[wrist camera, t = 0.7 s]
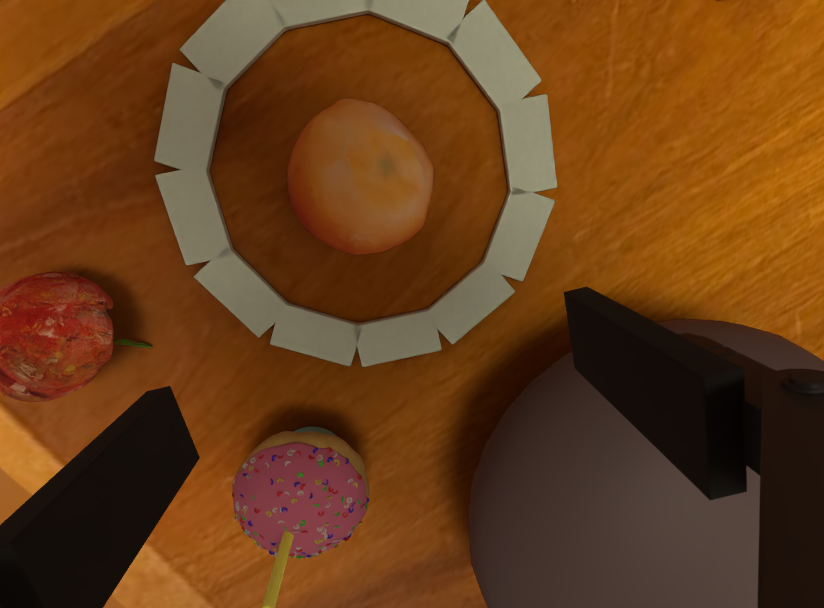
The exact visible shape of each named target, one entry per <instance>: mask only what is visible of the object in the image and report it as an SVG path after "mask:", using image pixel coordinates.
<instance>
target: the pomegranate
mask: <svg viewBox="0 0 824 608" xmlns="http://www.w3.org/2000/svg"><path fill="white" fill-rule="evenodd" d="M113 306H114V303H113V301H112V299H111V298H110V297H109V295H108V294H107V293H106V292H105V291H103V290H102V288H101V287H100V286H99V285H98V284H97V283H95V282H93V281H91V280H88V279H86V278H84V277H81V276H78V275H76V274H74V273H63V272H47V273H41V274H35V275H32V276H28V277H25V278H21V279H19V280H17V281H15V282H13V283H11V284H8V285H6V286H4V287H3V288H1V289H0V391H1V392H2V393H3V394H4V395H7V396H9V397H12V398H14V399H17V400H20V401H27V402H42V401H50V400H53V399H57V398H60V397H63V396H65V395H67V394H69V393H70V392H72V391H75V390H77V389H79V388H81V387H83V386H85V385H86V384H87V383H89V382H90V381H91V380H92V379H93V378H94V377H95V376H96V374H97V373H98V372H99V371H100V369H101V368H102V367H103V366H104V364H105V363H106V362H107V361H108V360H110V358H111V355H112V351H113V344H115V345H125V346H134V347H142V348H153V347H152V345H150V344H146V343H142V342H132V341H131V340H128V339H120V340H113V336H114V330H113V323H112V320H111V317H110V312H111V310H112V309H113Z"/></svg>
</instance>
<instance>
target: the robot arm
mask: <svg viewBox="0 0 824 608" xmlns="http://www.w3.org/2000/svg"><path fill="white" fill-rule="evenodd" d="M564 296H565V303H566V311H567V318H568V325H569V332H570V340H571V347H572V354H573V361H574V368H575V369H576V370H577V371H578V372H579V373H580V374H581V375H582V376H583V377H584V378H585V379H586V380H587V381H588V382H589V383H590V384H591V385H592V386H593V387H594V388H595V389H596V390H597V391H598V392H599V393H600V394H601V395H602V396H603V397H604V398H605V399H607V400H608V401H609V402H610V403H611V404H612V405H613V406H614V407H615V408H616V409H617V410H618V411H619V412H620V413H621V414H622V415H623V416H624V417H625V418H626V419H627V420H628V421H629V422H630V423H631V424H632V425H633V426H634V427H635V428H636V429H637V430H638V431H639V432H640V433H641V434H642V435H643V436H644V437H645V438H647V439H648V440H649V441H650V442H651V443H652V444H653V445H654V446H655V447H656V448H657V449H658V450H659V451H660V452H661V453H662V454H663V455H664V456H665V457H666V458H667V459H668V460H669V461H670V462H671V463H672V464H673V465H674V466H675V467H676V468H677V469H678V470H679V471H680V472H681V473H682V474H683V475H684V476H686V477H687V478H688V479H689V480H690V481H691V482H692V483H693V484H694V485H695V486H696V487H697V488H698V489H699V490H700V491H701V492H702V493H703V494H704V495H705V496H706V497H707V498H708V499H709V500H714V499H718V498H723V497H727V496H731V495H735V494H739V493H743V492H747V469H746V465H747V466H748V467H749V468H751V469H752V470H753V471H754V472H756V473H757V474H758V475H759V476H760V513H759V561H758V608H824V371H821V370H813V369H784V370H778V371H776V370H774V369H772V368H770V367H768V366H766V365H764V364H762V363H760V362H758V361H755V360H753V359H751V358H749V357H747V356H745V355H743V354H741V353H738V354H737V351H735V350H733V349H731V348H729V347H727V346H726V347H724V346H723V345H722V344H720V343H718V342H716V341H714V340H712V339H710V338H708V337H704V336H700V335H695V334H691V333H687V332H685V333H681V334H677V333H675V332H673V331H671V330H669V329H667V328H665V327H663V326H661V325H659V324H657V323H656V322H654V321H652V320H650V319H648V318H646V317H644V316H642V315H640V314H638V313H636V312H634V311H633V310H631V309H629V308H627V307H625V306H623V305H621V304H619V303H617V302H615V301H613V300H611V299H610V298H608V297H606V296H604V295H602V294H600V293H598V292H596V291H594V290H592V289H590V288H588V287H583V288H579V289H575V290H571V291H567V292H564ZM199 458H200V457H199V455H198V452H197V450H196V448H195V445H194V443H193V440H192V438H191V436H190V433H189V431H188V428H187V426H186V423H185V421H184V419H183V416H182V414H181V411H180V409H179V407H178V404H177V402H176V399H175V397H174V394H173V392H172V390H171V387H170V386H168V387H163V388H159V389H155V390H151V391H147V392H146V393H145V394H144V395H142V396H141V397H140V398H139V399H138V400H137V401H136V402H135V403H134V404H133V405H131V406H130V407H129V408H128V409H127V410H126V411H125V412H124V413H123V414H122V415H121V416H119V417H118V418H117V419H116V420H115V421H114V422H113V423H112V424H111V425H110V426H108V427H107V428H106V429H105V430H104V431H103V432H102V433H101V434H100V435H99V436H97V437H96V438H95V439H94V440H93V441H92V442H91V443H90V444H89V445H88V446H87V447H85V448H84V449H83V450H82V451H81V452H80V453H79V454H78V455H77V456H76V457H74V458H73V459H72V460H71V461H70V462H69V463H68V464H67V465H66V466H65V467H63V468H62V469H61V470H60V471H59V472H58V473H57V474H56V475H55V476H54V477H53V478H51V479H50V480H49V481H48V482H47V483H46V484H45V485H44V486H43V487H42V488H40V489H39V490H38V491H37V492H36V493H35V494H34V495H33V496H32V497H31V498H29V499H28V500H27V501H26V502H25V503H24V504H23V505H22V506H21V507H20V508H19V509H17V510H16V511H15V512H14V513H13V514H12V515H11V516H10V517H9V518H8V519H6V520H5V521H4V522H3V523H2V524H1V525H0V608H103V607H104V605H105V604H106V602H107V600H108V599H109V597H110V596H111V594H112V593H113V591H114V590H115V588H116V587H117V585H118V583H119V582H120V580H121V579H122V577H123V576H124V574H125V573H126V571H127V570H128V568H129V566H130V565H131V563H132V562H133V560H134V559H135V557H136V556H137V554H138V553H139V551H140V549H141V548H142V546H143V545H144V543H145V542H146V540H147V539H148V537H149V536H150V534H151V532H152V531H153V529H154V528H155V526H156V525H157V523H158V522H159V520H160V519H161V517H162V515H163V514H164V512H165V511H166V509H167V508H168V506H169V505H170V503H171V501H172V500H173V498H174V497H175V495H176V494H177V492H178V491H179V489H180V488H181V486H182V484H183V483H184V481H185V480H186V478H187V477H188V475H189V474H190V472H191V471H192V469H193V467H194V466H195V464H196V463H197V461H198V460H199Z"/></svg>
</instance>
